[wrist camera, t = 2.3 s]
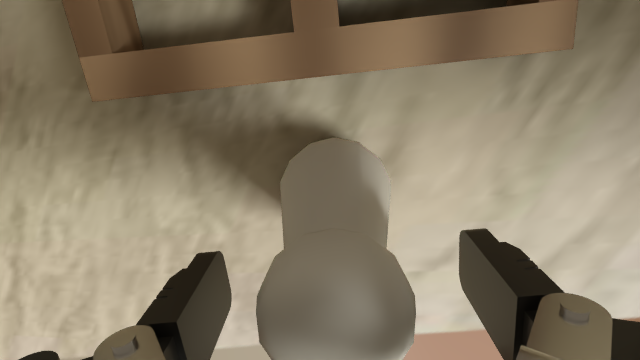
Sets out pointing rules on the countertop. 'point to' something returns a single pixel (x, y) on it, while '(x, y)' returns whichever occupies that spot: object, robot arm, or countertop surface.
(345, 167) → the salt shaker
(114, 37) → the spice rail
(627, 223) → the countertop surface
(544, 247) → the countertop surface
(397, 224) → the countertop surface
